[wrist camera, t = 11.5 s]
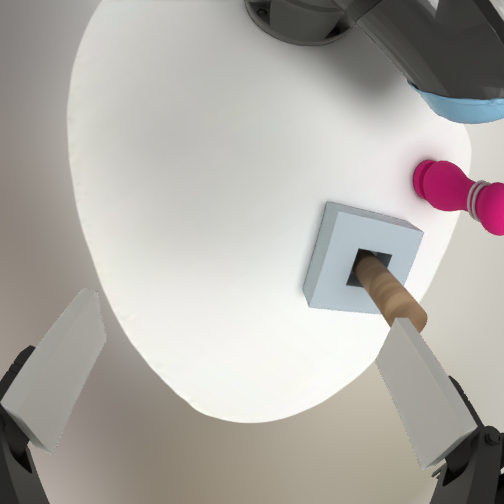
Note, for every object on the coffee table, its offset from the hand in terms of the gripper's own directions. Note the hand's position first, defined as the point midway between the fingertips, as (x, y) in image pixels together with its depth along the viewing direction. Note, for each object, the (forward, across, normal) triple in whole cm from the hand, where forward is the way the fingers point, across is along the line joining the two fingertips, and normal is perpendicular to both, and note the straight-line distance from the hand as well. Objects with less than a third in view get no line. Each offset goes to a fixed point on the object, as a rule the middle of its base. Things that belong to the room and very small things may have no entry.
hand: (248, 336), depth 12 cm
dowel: (+27, +18, -7) cm, 33 cm away
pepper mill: (+29, +27, +6) cm, 40 cm away
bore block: (+28, +18, -7) cm, 34 cm away
